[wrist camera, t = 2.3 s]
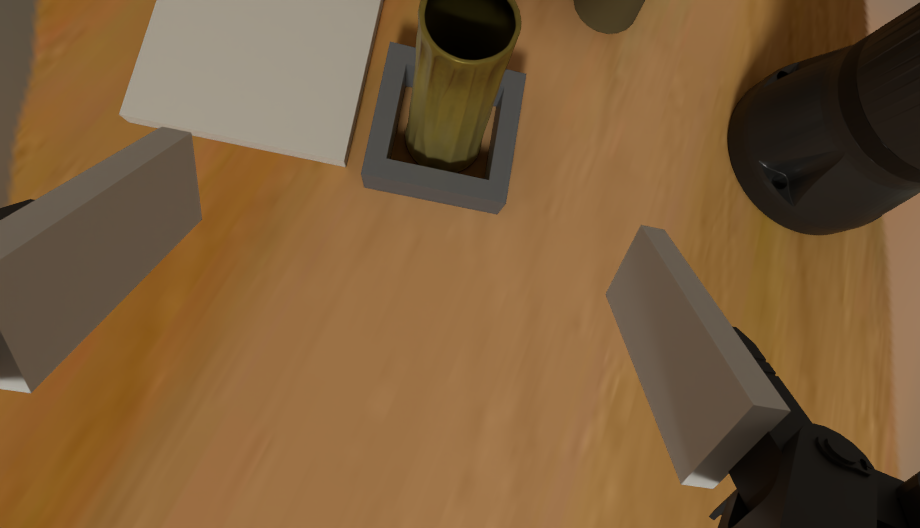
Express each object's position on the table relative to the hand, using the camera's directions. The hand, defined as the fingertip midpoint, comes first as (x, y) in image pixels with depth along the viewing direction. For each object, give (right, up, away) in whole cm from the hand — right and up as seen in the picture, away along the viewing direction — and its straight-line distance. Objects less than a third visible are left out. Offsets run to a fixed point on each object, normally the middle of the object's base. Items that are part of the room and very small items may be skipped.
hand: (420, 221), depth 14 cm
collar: (0, +9, +23) cm, 25 cm away
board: (-14, +16, +22) cm, 31 cm away
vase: (0, +9, +23) cm, 25 cm away
